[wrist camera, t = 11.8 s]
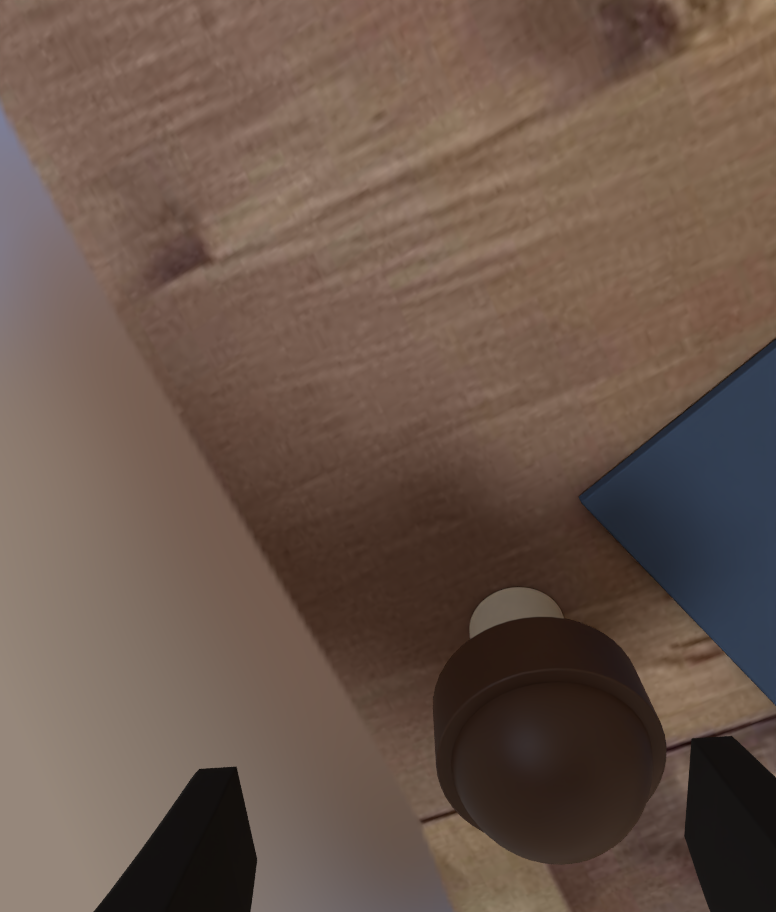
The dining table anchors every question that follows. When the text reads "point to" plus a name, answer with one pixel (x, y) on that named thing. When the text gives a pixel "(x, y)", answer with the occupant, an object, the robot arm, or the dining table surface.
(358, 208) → the dining table surface
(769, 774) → the robot arm
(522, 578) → the dining table surface
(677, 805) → the dining table surface
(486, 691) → the mushroom
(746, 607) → the blue flat board
